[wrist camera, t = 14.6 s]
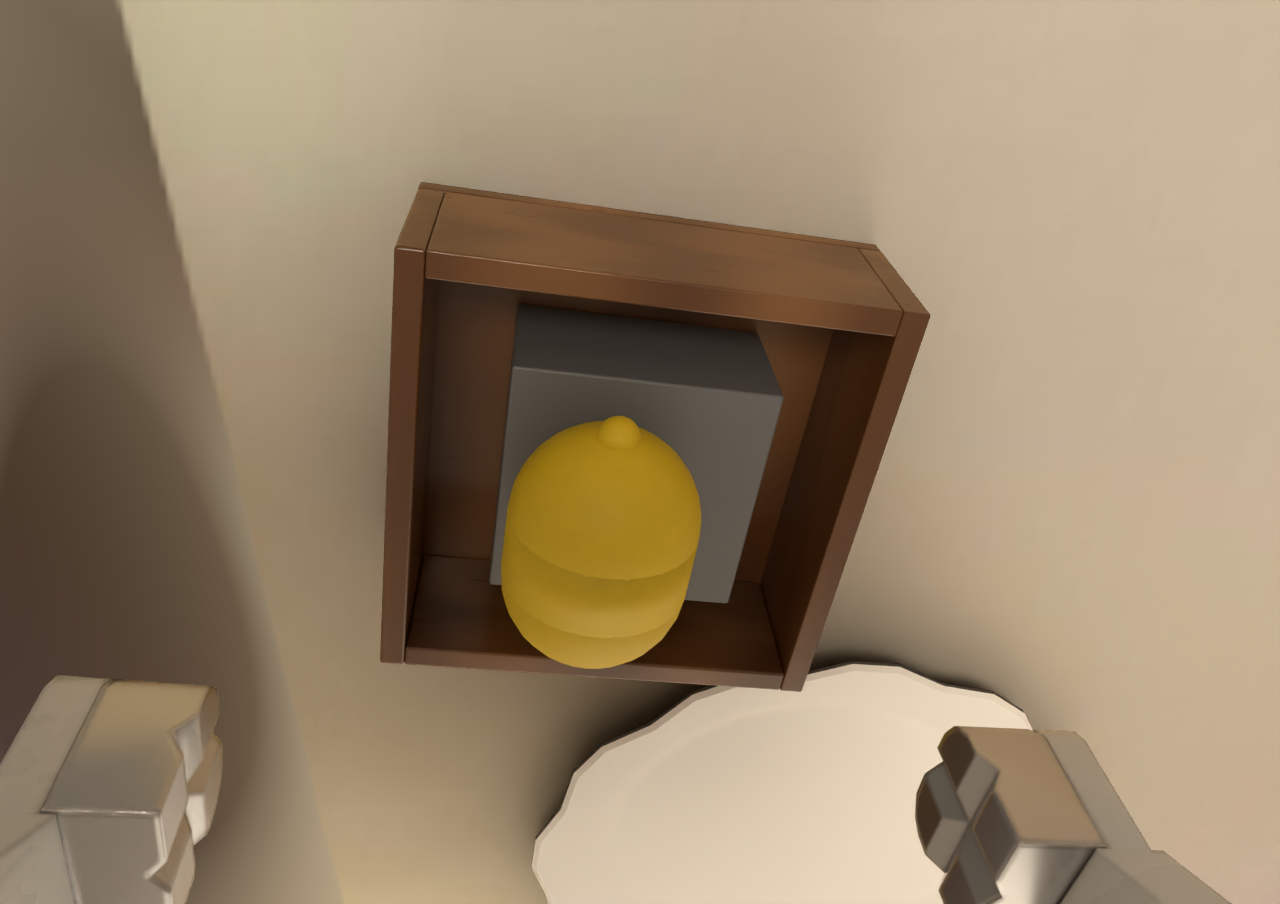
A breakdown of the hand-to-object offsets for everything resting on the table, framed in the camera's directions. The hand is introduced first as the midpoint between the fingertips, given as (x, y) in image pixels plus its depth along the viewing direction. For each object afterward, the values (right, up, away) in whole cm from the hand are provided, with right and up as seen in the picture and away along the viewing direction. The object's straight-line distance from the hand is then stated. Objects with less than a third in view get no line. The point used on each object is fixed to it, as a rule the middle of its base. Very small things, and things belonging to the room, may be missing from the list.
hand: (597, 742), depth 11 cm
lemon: (0, +2, +19) cm, 19 cm away
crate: (0, +5, +24) cm, 24 cm away
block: (0, +4, +23) cm, 24 cm away
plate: (+8, -15, +37) cm, 41 cm away
